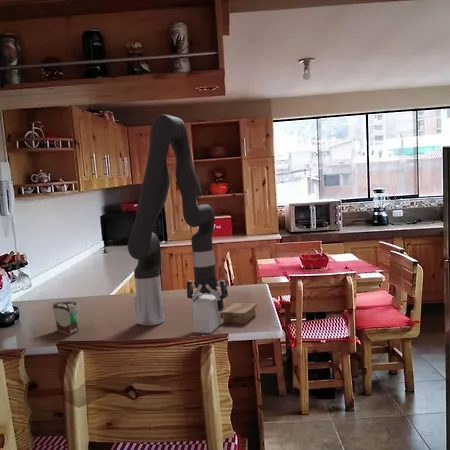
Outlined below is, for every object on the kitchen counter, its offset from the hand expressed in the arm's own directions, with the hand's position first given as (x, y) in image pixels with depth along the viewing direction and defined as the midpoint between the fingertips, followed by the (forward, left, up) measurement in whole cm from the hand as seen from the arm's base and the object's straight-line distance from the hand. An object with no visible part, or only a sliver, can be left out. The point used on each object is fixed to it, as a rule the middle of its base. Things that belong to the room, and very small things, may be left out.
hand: (208, 310), depth 166 cm
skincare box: (-1, -1, -6) cm, 6 cm away
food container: (-50, -13, -6) cm, 51 cm away
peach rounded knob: (-4, +15, -6) cm, 17 cm away
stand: (+6, +11, -6) cm, 15 cm away
